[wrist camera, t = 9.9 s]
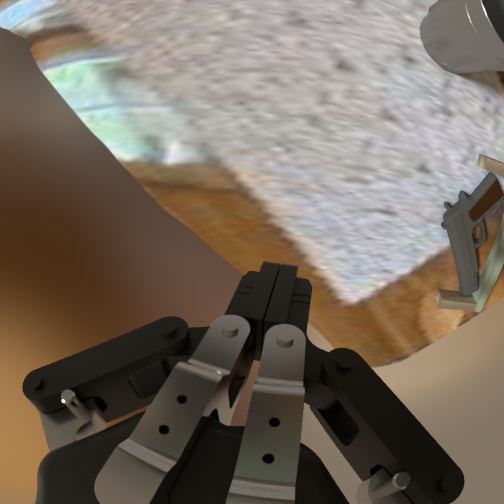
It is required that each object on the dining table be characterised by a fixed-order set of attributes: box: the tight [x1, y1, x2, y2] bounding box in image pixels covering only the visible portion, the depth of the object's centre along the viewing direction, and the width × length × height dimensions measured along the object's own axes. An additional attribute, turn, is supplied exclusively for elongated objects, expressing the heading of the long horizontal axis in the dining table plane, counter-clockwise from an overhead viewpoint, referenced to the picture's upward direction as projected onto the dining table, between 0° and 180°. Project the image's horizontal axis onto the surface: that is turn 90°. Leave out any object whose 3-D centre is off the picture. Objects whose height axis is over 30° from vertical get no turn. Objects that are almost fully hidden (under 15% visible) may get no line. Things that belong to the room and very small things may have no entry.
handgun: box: [441, 172, 504, 295], centre depth 32 cm, size 3×18×12 cm
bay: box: [435, 154, 504, 312], centre depth 32 cm, size 25×9×3 cm, turn 179°
